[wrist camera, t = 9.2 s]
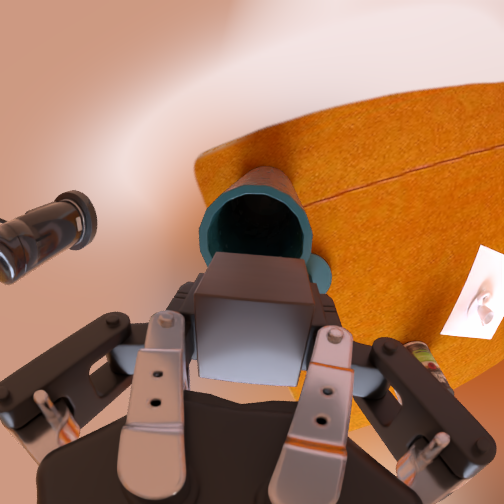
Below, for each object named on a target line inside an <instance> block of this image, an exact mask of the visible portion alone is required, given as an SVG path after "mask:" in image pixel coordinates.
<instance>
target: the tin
mask: <svg viewBox="0 0 504 504" xmlns="http://www.w3.org/2000/svg"><path fill="white" fill-rule="evenodd" d="M312 238H313V234H312V230H311V227H310V224H309V221H308V218H307V215H306V212H305V210H304V208H303V206H302V204H301V202H300V200H299V198H298V196H297V194H296V192H295V190H294V188H293V185H292V183H291V181H290V179H289V178H288V177H287V176H286V175H285V174H284V173H283V172H282V171H281V170H279V169H277V168H274V167H270V166H260V167H258V168H255V169H252V170H250V171H249V172H248V173H247V174H245V175H244V176H243V177H242V178H240V179H239V180H238V181H237V182H235V183H234V184H233V185H232V186H231V187H229V188H228V189H227V190H226V191H224V192H223V193H222V194H221V195H220V196H219V197H218V198H217V199H216V200H215V201H214V202H213V203H212V204H211V205H210V206H209V207H208V208H207V210H206V212H205V214H204V217H203V220H202V222H201V225H200V227H199V245H200V252H201V254H202V256H203V258H204V260H205V262H206V264H207V267H208V266H209V264H210V263H211V261H212V259H213V257H214V255H215V253H216V252H227V253H238V254H250V255H262V256H273V257H285V258H297V259H304V261H305V265H306V263H307V261H308V260H309V258H310V255H311V249H312Z"/></svg>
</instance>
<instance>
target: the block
mask: <svg viewBox="0 0 504 504" xmlns="http://www.w3.org/2000/svg"><path fill="white" fill-rule="evenodd" d="M314 310H315V302H314V297H313V293H312V289H311V285H310V281H309V277H308V273H307V269H306V265H305V261H304V259H297V258H285V257H273V256H262V255H250V254H238V253H227V252H216V253H215V255H214V257H213V259H212V261H211V263H210V264H209V266H208V268H207V270H206V272H205V274H204V276H203V277H202V279H201V281H200V283H199V285H198V287H197V289H196V291H195V293H194V315H195V334H196V350H197V363H198V375H199V377H202V378H208V379H215V380H222V381H231V382H240V383H249V384H260V385H274V386H292V387H296V386H297V384H298V381H299V377H300V373H301V368H302V364H303V360H304V356H305V352H306V347H307V343H308V338H309V334H310V329H311V325H312V320H313V315H314Z"/></svg>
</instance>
